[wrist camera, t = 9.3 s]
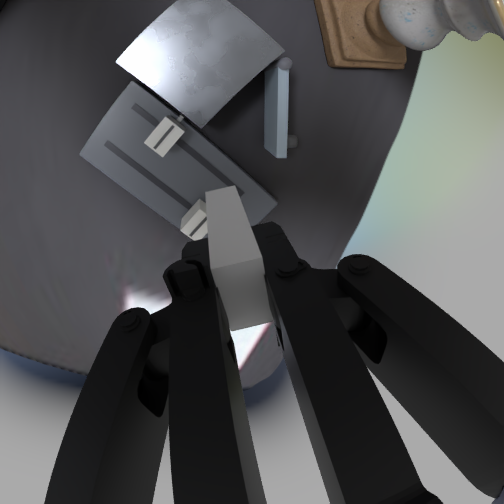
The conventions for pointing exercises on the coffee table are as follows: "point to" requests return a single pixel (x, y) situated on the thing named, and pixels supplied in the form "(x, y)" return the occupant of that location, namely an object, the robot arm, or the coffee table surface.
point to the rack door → (277, 108)
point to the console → (167, 160)
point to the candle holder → (399, 28)
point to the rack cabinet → (199, 56)
